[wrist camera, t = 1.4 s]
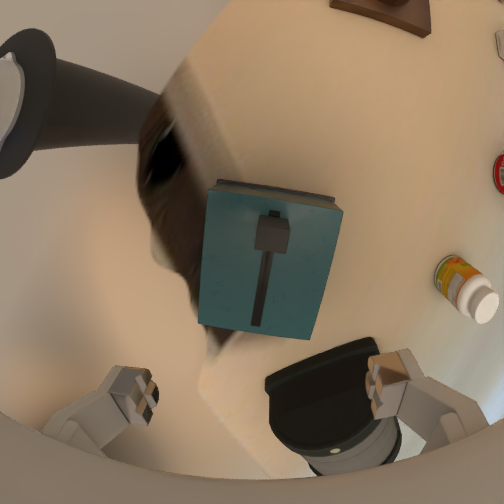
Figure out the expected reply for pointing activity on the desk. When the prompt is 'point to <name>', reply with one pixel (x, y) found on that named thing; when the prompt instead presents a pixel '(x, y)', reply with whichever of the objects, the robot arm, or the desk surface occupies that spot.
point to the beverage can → (499, 173)
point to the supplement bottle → (466, 289)
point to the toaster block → (265, 259)
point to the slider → (272, 234)
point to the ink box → (500, 43)
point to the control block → (392, 13)
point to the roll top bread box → (332, 411)
